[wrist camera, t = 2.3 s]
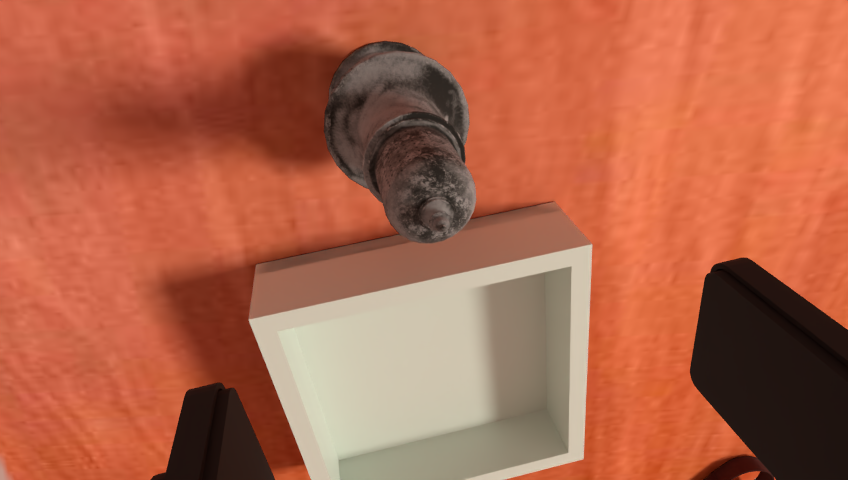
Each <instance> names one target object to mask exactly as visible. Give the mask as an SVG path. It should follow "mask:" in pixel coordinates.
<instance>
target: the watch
mask: <svg viewBox="0 0 848 480" xmlns="http://www.w3.org/2000/svg"><path fill="white" fill-rule="evenodd" d="M753 471H761V472H760V474H759V475H758V477H757V478H755V479H754V480H774V476H773V475H772V474H771V473H770V472H769V471H768V469H767V468H766V467H765V466H764V465H763V464H762V463H761V461H760V460H759V459H758V458H756V457H752V456H741V457H737V458H734V459H732V460H729V461H728V462H726V463H725V464H723V465H722V466H720V467H719V468H717V469H716V470H715V471H713V472H712V473H711V474H710V475H709V476H707V477H706V478H705V479H704V480H732V479H734V478H736V477H737V476H739V475H742V474H745V473H748V472H753Z"/></svg>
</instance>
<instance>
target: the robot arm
mask: <svg viewBox="0 0 848 480" xmlns="http://www.w3.org/2000/svg"><path fill="white" fill-rule="evenodd" d="M690 375H691V378H692V381H693V383H694V385H695V387H696V388H697V389H698V390H699V391H700V393H701V394H702V395H703V396H704V397H705V398H706V400H707V401H708V402H709V403H710V404H711V405H712V406H713V408H714V409H715V410H716V411H717V412H718V413H719V414H720V416H721V417H722V418H723V419H724V420H725V421H726V422H727V424H728V425H729V426H730V427H731V428H732V429H733V430H734V432H735V433H736V434H737V435H738V436H739V437H740V439H741V440H742V441H743V442H744V443H745V444H746V445H747V447H748V448H749V449H750V450H751V451H752V452H753V453H754V455H755V456H756V457H757V458H758V459H759V460H760V461H761V463H762V464H763V465H764V466H765V467H766V468H767V469H768V471H769V472H770V473H771V474H772V475H773V476H774V477H775V479H776V480H848V330H847V329H846V328H844V327H843V326H842V325H840V324H839V323H837V322H836V321H835V320H833V319H832V318H831V317H829V316H828V315H826V314H825V313H824V312H822V311H821V310H819V309H818V308H817V307H815V306H814V305H813V304H811V303H810V302H808V301H807V300H806V299H804V298H803V297H802V296H800V295H799V294H797V293H796V292H795V291H793V290H792V289H791V288H789V287H788V286H786V285H785V284H784V283H782V282H781V281H780V280H778V279H777V278H775V277H774V276H773V275H771V274H770V273H768V272H767V271H766V270H764V269H763V268H762V267H760V266H759V265H757V264H756V263H755V262H753V261H752V260H750V259H748V258H738V259H734V260H730V261H726V262H722V263H718V264H715V265H714V266H713V267H712V269H711V272H710V273H708V274H707V275H706V277H705V281H704V287H703V293H702V299H701V305H700V312H699V318H698V324H697V330H696V336H695V342H694V349H693V355H692V361H691V367H690ZM151 480H275V479H274V476H273V474H272V472H271V469H270V467H269V465H268V462H267V460H266V458H265V456H264V453H263V451H262V449H261V446H260V444H259V442H258V440H257V437H256V435H255V433H254V431H253V428H252V426H251V424H250V421H249V419H248V417H247V415H246V412H245V410H244V408H243V405H242V403H241V401H240V399H239V396H238V394H237V392H236V390H235V389H234V388H229V389H225V387H224V385H223V384H222V383H215V384H211V385H207V386H202V387H198V388H194V389H190V390H188V391H187V392H186V394H185V397H184V401H183V405H182V409H181V413H180V417H179V421H178V426H177V430H176V434H175V438H174V442H173V446H172V450H171V454H170V458H169V462H168V466H167V470H166V472H165V473H161V474H158V475H155V476H153V478H152V479H151Z"/></svg>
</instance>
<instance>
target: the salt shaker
mask: <svg viewBox="0 0 848 480" xmlns="http://www.w3.org/2000/svg"><path fill="white" fill-rule="evenodd" d="M468 128H469V112H468V104H467V101H466V98H465V96H464V93H463V90H462V88H461V86H460V85H459V83H458V82H457V81H456V79H455V78H454V77H453V75H452V74H451V72H450V71H448V70H447V69H446V68H444V67H443V66H442V65H441V64H439V63H438V62H437V61H435V60H434V59H431V58H429V57H426V56H424V55H423V54H422V53H420V52H419V51H418V50H417V49H415V48H413V47H410V46H408V45H405V44H403V43H398V42H388V41H383V42H377V43H372V44H368V45H366V46H364V47H362V48H360V49H358V50H356V51H354V52H353V53H352V54H351V55H349V56H348V57H347V58H346V59H345V60H344V61H343V62H342V63H341V65H340V66H339V68H338V69H337V71H336V72H335V74H334V76H333V79H332V82H331V85H330V88H329V101H328V104H327V107H326V110H325V120H324V133H325V138H326V142H327V146H328V150H329V152H330V154H331V155H332V157H333V159H334V161H335V163H336V165H337V166H338V167H339V168H340V169H341V170H342V171H343V172H344V173H345V174H346V175H347V176H348V177H349V178H350V179H351V180H353V181H354V182H356V183H358V184H359V185H361V186H363V187H365V188H367V189H369V190H370V191H371V193H372V194H373V195H374V196H375V197H376V198H377V199H378V200H379V201H380V202H382V203H383V206H384V210H385V213H386V216H387V218H388V220H389V222H390V224H391V225H392V226H393V227H394V228H395V229H396V230H397V231H398V233H399V234H400V235H402V236H403V237H405V238H407V239H408V240H410V241H414V242H418V243H436V242H441V241H444V240H446V239H448V238H450V237H452V236H454V235H455V234H456V233H458V232H459V231H460V230H462V229H463V227H464V226H465V225H466V224H467V222H468V221H469V220H470V218H471V216H472V214H473V211H474V208H475V203H476V190H475V183H474V181H473V178H472V175H471V173H470V172H469V170H468V169H467V167H466V165H465V149H464V145H465V143H466V140H467V134H468Z"/></svg>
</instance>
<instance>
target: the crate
mask: <svg viewBox="0 0 848 480" xmlns="http://www.w3.org/2000/svg"><path fill="white" fill-rule="evenodd" d="M591 263H592V243H591V242H590V241H589V240H588V239H587V238H586V237H585V235H584V234H583V233H582V232H581V231H580V230H579V229H578V227H577V226H576V225H575V224H574V223H573V222H572V221H571V219H570V218H569V217H568V216H567V215H566V214H565V213H564V211H563V210H562V209H561V208H560V207H559V206H558V205H557V204H556V202H550V203H546V204H541V205H536V206H531V207H527V208H522V209H517V210H512V211H508V212H503V213H498V214H493V215H489V216H484V217H479V218H474V219H470V220H469V221H468V222H467V224H466V225H465V226H464V227H463V229H462V230H460V231H459V232H458V233H456V234H455V235H454V236H452V237H450V238H448V239H446V240H444V241H441V242H436V243H418V242H414V241H410V240H408V239H407V238H405V237H403V236H402V235H400V234H398V235H394V236H389V237H384V238H380V239H375V240H370V241H365V242H361V243H356V244H351V245H346V246H342V247H337V248H332V249H327V250H323V251H318V252H313V253H308V254H304V255H299V256H294V257H289V258H285V259H280V260H275V261H270V262H266V263H261V264H256V269H255V276H254V283H253V290H252V297H251V304H250V312H249V319H248V320H249V323H250V325H251V328H252V330H253V333H254V335H255V338H256V340H257V343H258V346H259V348H260V351H261V353H262V356H263V358H264V361H265V363H266V366H267V368H268V371H269V373H270V376H271V379H272V381H273V384H274V386H275V389H276V391H277V394H278V396H279V399H280V401H281V404H282V407H283V409H284V412H285V414H286V417H287V419H288V422H289V424H290V427H291V429H292V432H293V435H294V437H295V440H296V442H297V445H298V447H299V450H300V452H301V455H302V457H303V460H304V463H305V465H306V468H307V470H308V473H309V475H310V478H311V480H504V479H508V478H512V477H516V476H520V475H524V474H528V473H532V472H536V471H539V470H543V469H547V468H551V467H555V466H559V465H563V464H567V463H571V462H574V461H578V460H582V459H584V436H585V411H586V387H587V362H588V337H589V312H590V287H591Z"/></svg>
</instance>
